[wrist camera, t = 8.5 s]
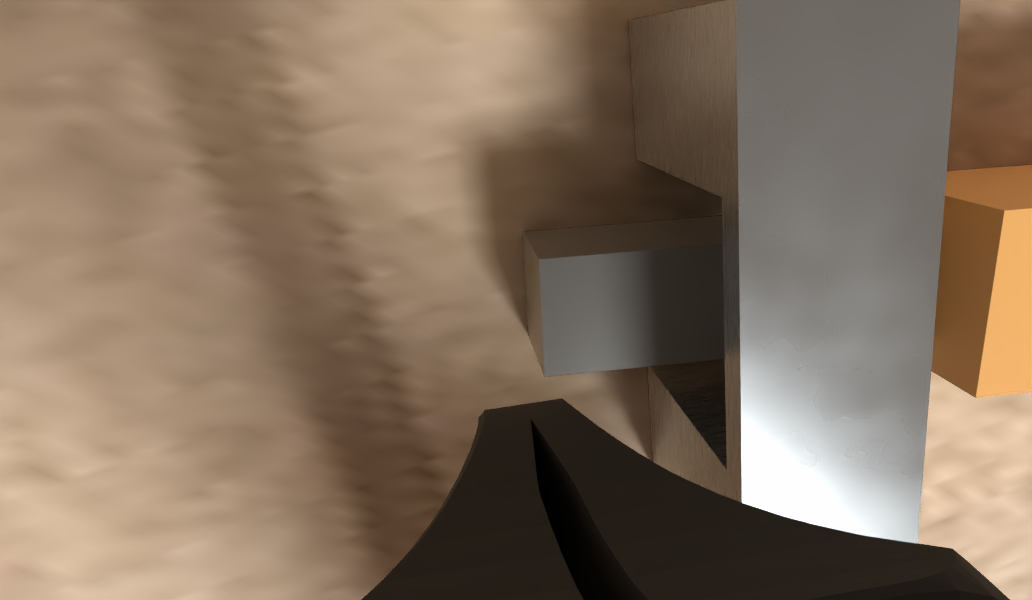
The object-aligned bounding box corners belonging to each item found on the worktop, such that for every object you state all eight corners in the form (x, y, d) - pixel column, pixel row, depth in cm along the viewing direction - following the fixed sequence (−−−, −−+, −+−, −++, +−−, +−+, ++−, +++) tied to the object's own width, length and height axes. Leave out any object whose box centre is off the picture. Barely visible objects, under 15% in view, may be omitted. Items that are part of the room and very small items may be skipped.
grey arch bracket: (653, 467, 23) (743, 625, 16) (628, 20, 19) (736, -3, 12) (777, 447, 23) (913, 595, 17) (779, 3, 19) (962, -28, 13)
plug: (529, 358, 21) (559, 443, 17) (521, 204, 20) (552, 248, 15) (1041, 308, 23) (1204, 372, 18) (1067, 161, 21) (1251, 190, 17)
